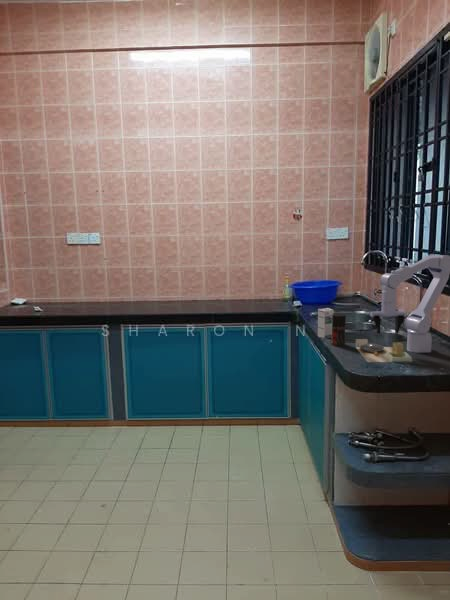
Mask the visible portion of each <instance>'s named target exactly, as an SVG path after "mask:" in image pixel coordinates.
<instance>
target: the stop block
mask: <svg viewBox="0 0 450 600" xmlns="http://www.w3.org/2000/svg"><path fill="white" fill-rule="evenodd" d="M392 347H393V348H392V357H403V352H404V344H403V343H401V342H393V343H392Z"/></svg>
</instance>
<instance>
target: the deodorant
mask: <svg viewBox="0 0 450 600" xmlns="http://www.w3.org/2000/svg"><path fill="white" fill-rule="evenodd" d="M346 317H347V316H346V314H344V313H334V314H333V315H332V338H331V346H334V347H345V346H346V344H345V343H346V319H347V318H346Z"/></svg>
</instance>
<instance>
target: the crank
mask: <svg viewBox="0 0 450 600" xmlns="http://www.w3.org/2000/svg"><path fill="white" fill-rule="evenodd" d="M354 346H355V347H360V350H362V351H365V352H370V353H373V354H374V355H377V353H379V352H383V351H384V347H385V346H384V345H382V344H378V343H371V342H369V341H368V339H367V338H363V339H362V338H355V344H354Z"/></svg>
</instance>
